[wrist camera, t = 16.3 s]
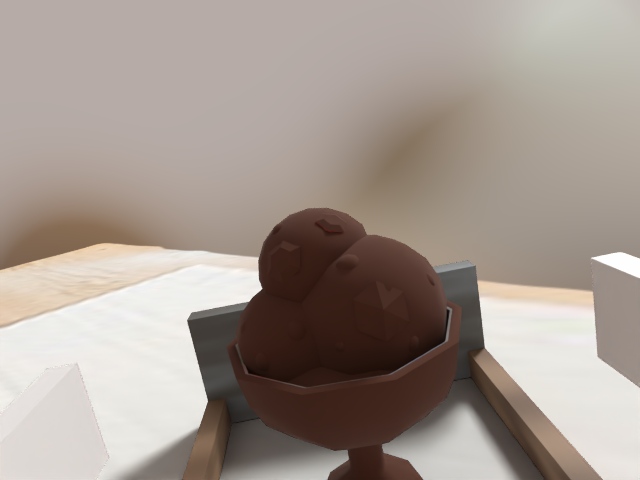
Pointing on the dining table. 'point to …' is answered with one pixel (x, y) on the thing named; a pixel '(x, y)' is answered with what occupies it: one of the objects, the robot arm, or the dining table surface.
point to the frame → (472, 361)
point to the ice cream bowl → (345, 340)
